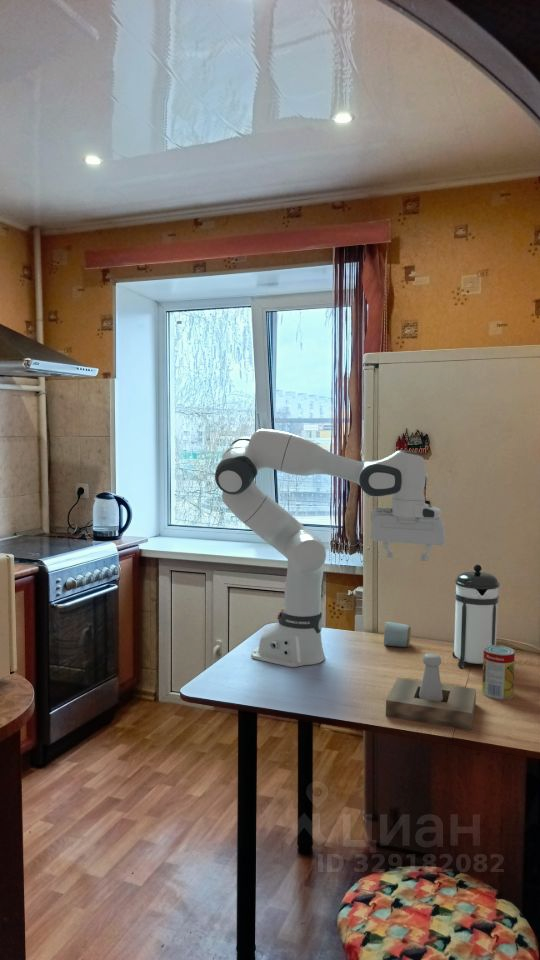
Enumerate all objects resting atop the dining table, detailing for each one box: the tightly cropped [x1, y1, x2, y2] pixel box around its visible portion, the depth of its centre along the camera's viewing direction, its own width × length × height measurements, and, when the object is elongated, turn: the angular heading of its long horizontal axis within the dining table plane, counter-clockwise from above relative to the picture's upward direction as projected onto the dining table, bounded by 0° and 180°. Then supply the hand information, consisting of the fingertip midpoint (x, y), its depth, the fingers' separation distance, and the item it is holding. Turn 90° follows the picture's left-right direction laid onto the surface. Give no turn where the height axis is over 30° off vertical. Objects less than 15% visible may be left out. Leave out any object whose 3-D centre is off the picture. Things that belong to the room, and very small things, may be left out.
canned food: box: [481, 644, 516, 700], centre depth 177 cm, size 8×8×12 cm
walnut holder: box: [385, 677, 477, 731], centre depth 166 cm, size 20×16×4 cm
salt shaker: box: [419, 652, 443, 702], centre depth 166 cm, size 6×6×13 cm
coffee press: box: [452, 564, 501, 669], centre depth 201 cm, size 17×16×30 cm
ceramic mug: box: [383, 621, 412, 648], centre depth 218 cm, size 11×8×8 cm
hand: (406, 559), depth 184 cm, fingers open, 8 cm apart
